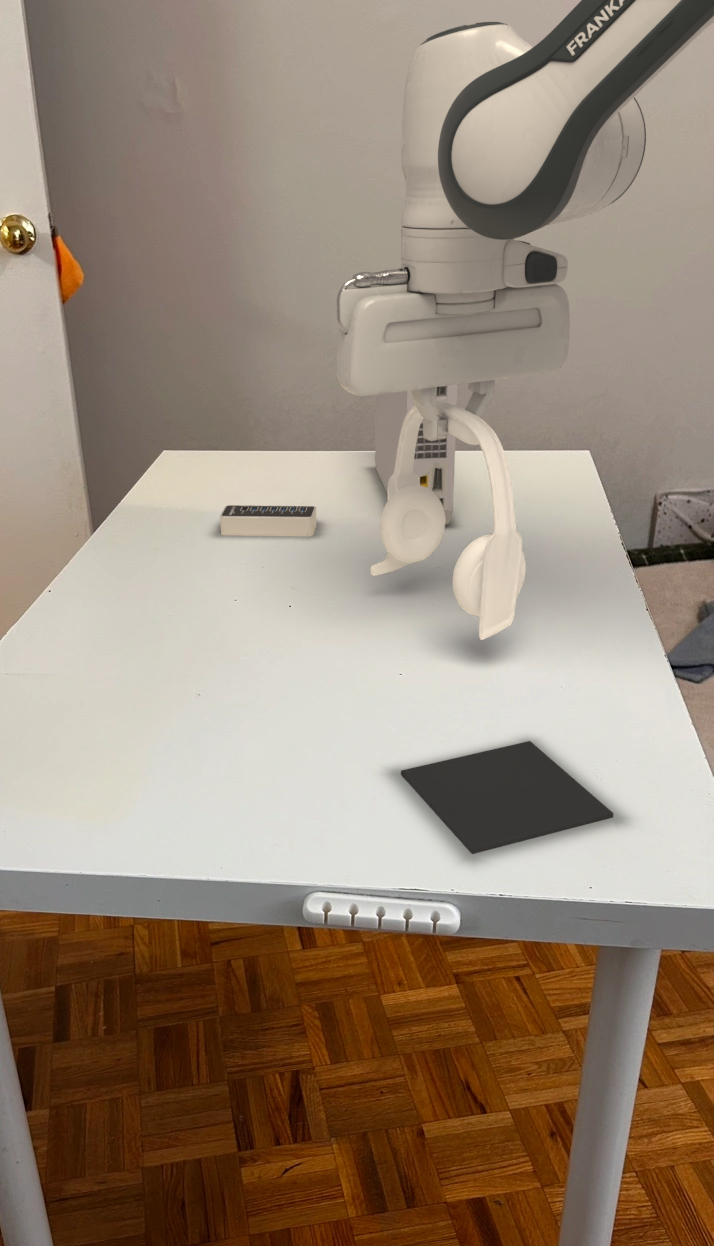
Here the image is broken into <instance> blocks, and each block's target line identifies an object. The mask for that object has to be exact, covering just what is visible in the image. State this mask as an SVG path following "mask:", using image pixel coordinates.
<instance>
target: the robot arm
mask: <svg viewBox="0 0 714 1246" xmlns="http://www.w3.org/2000/svg"><path fill="white" fill-rule="evenodd" d="M712 24H714V0H580V1H579V2H578V3H577V5H575V6H574V7H573V8H572V10H571V11H570V12H568V14H567V15H566V16H565V17H564V18H563V19H562V20H561V21H560V22H559V23H558V24H557V25H556V26H555V27H554V28H553V29H552V30H551V31H550V32H549V33H548V34H547V35H546V36H545V37H544V38H543V39H542V40H540V41H539V42H538V43H537V44H536V45H532V44H530V43H529V42H527V41H526V40H525V39H523V37H521V36H520V34H518V32H517V31H516V30H515V29H514V27H513V26H511V25H509V24H508V23H504V22H500V21H481V22H475V23H474V24H468V25H467V24H463V25H459V26H455V27H452V28H448V29H445V30H442V31H440V32H437V33H436V34H433V35H431V36H429V37H427V38H426V39H425V40H424V41H423V42H422V43H420V44H419V46H417V48H416V49H415V50H414V52H413V54H412V56H411V59H410V62H409V65H408V68H407V72H406V79H405V85H404V94H403V102H402V103H403V105H402V119H401V121H402V122H401V157H400V158H401V169H402V173H403V177H404V181H405V191H406V193H405V195H406V197H405V204H404V208H403V212H402V216H401V220H400V221H401V222H400V226H401V229H400V258H401V259H400V268H393V269H385V270H381V271H380V270H379V271H375V272H371V271H360V272H356V273H354V274H353V275H352V278H350V279H349V280H347V281H346V282H344V283H343V284H342V286H341V287H340V288H339V290H338V291H337V295H336V320H337V324H338V326H339V329H338V337H337V347H336V360H335V377H336V381H337V382H338V384H339V386H341V387H342V389H343V390H344V391H346V392H347V393H349V394H351V395H354V396H356V397H367V396H376V395H377V394H385V393H393V392H401V391H409V390H411V398H412V400H413V402H414V404H415V406H416V407H417V409H418V411H419V413H420V414H421V416H422V417H423V436H424V438H425V439H427V440H429V441H435V440H440V439H446V438H447V431H446V429H447V427H448V419H446V418H444V417H442V416H440V415H437V414H436V412H435V410H434V408H433V406H432V404H431V402H430V400H431V401H433V400H436V399H437V387H441V386H449V385H457V386H458V385H466V384H467V389H468V390H469V391H471V392H472V394H471V396H470V397H469V400H468V402H467V404H466V407H465V408H464V410H466V411H469V412H471V413H472V414H474V415H476V416H478V417H479V418H481V419H482V415H483V414H484V413H485V410H486V409H487V407H488V405H489V403H490V402H491V400H492V397H493V396H494V394H495V383H496V382H495V381H497V380H504V379H515V378H521V377H530V376H538V375H546V374H555V373H558V372H559V371H560V370H561V369H562V367H563V366H564V364H565V363H566V361H567V359H568V355H569V348H570V347H569V346H570V325H571V324H570V319H571V318H570V303H569V298H568V294H567V293H566V290H565V289H564V288H563V287H562V286H561V285H559V284H561V283H563V282H564V281H565V280H566V278H567V275H568V270H569V269H568V265H569V262H568V259H567V256H565V255H564V254H561V253H559V252H555V251H553V250H549V249H545V248H542V247H539V246H536V245H532V244H531V243H530V242H526V241H523V240H516V239H518V238H521V237H524V236H526V235H528V234H531V233H533V232H535V231H538V230H540V229H542V228H544V227H545V226H546V227H547V226H551V225H556V224H560V223H565V222H569V221H572V220H575V219H578V218H583V217H586V216H589V215H593V214H595V213H597V212H600V211H601V210H603V209H605V208H606V207H608V206H610V205H611V204H613V203H615V202H616V201H618V200H619V199H620V198H621V197H622V196H623V195H624V194H625V193H626V192H627V191H628V190H629V189H630V187H631V186H632V184H633V183H634V181H635V179H636V178H637V177H638V173H639V172H640V169H641V166H642V164H643V161H644V157H645V152H646V145H647V130H646V122H645V118H644V117H645V116H644V114H643V112H642V108H641V106H640V104H639V102H638V100H637V99H636V98H635V97H636V96H637V95H639V93H641V91H642V90H644V88H645V87H647V85H649V84H650V83H651V82H652V81H653V80H654V79H655V78H656V77H657V76H658V75H659V74H660V73H661V72H663V70H664V69H665V68H666V67H667V66H669V64H671V62H672V61H674V60H675V59H676V58H677V57H678V56H679V55H680V54H681V53H682V52H683V51H684V50H685V49H686V48H688V47H689V45H690V44H692V42H693V41H694V40H696V39H697V38H698V37H699V36H700V35H701V34H702V33H703V32H704V31H705V30H706V29H708V28H709V27H710V26H711V25H712ZM352 285H353V287H350V286H352Z"/></svg>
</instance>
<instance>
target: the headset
mask: <svg viewBox="0 0 714 1246" xmlns="http://www.w3.org/2000/svg"><path fill="white" fill-rule="evenodd" d="M430 402H431V404H432V406H433V408H434V410H435V412H436V414H437V415H440V416H442V417H444V418H446V419H448V427H447V429H446V431H447V433H449V434H451V435H453V436H455V437H456V439H458V440H459V441H462V442H463V443H465V444H467V445H470V446H477V445H479V446H480V449H481V452H482V454H483V458H484V460H485V464H486V468H487V473H488V478H489V479H488V480H489V486H490V490H491V491H490V493H491V501H492V502H491V503H492V514H493V515H492V516H493V532H492V533H487V534H484V535H481V536H479V537H477V538H475V539H474V540H472V541H471V542H470V543H469V544H468V545H467V546H466V547H465V548H464V549H463V551H462V552H461V553H460V555H459V556H458V559H457V560H456V563H455V565H454V569H453V573H452V592H453V595H454V597H455V600H456V602H457V604H458V605H459V606H460V608H462V610H463V611H465V612H466V613H467V614H469V615H470V616H471V615H472V616H474V617H477V618H478V617H479V621H478V637H479V640H481V641H484V640H486V639H488V638H490V637H492V636H494V635H496V634H498V633H500V632H503V631H504V630H505V629H507V628H508V627H509V626H511V625H512V624H513V621H514V619H515V613H516V606H517V598H518V596H519V594H520V593H521V591H522V589H523V586H524V585H525V584H524V583H525V580H526V576H527V575H526V574H527V561H526V557H525V553H524V551H523V538H522V535H521V534H520V533H519V532H518V530H517V526H516V515H515V504H514V495H513V487H512V486H513V485H512V481H511V480H512V479H511V474H510V469H509V464H508V460H507V456H506V453H505V450H504V447H503V445H502V442H501V440H500V438H499V437H498V435H497V434H496V432H495V431H494V429H493V428H492V427H491V426H490V425H489V423H487V422H486V421H485V420H484V419H482V417H481V418H479V417H478V416H476V415H474V414H472V413H471V412H469V411H466V410H465V408H462V407H460V406H458V405H457V406H455V405H452V404H449V403H445V402H441V401H437V400H433V401H431V400H430ZM422 420H423V417H422V416H421V414H420V413H419V411H418V409H417V407H416V406H413V407H412V408H411V409H410V410H409V411H408V413H407V415H406V417H405V419H404V422H403V425H402V429H401V433H400V437H399V443H398V449H397V455H396V462H395V469H394V473H393V475H392V476H391V477H390V479H389V482H388V490H387V492H386V494H387V498H386V499H387V500H386V503H385V505H384V507H383V509H382V512H381V516H380V521H379V533H380V538H381V541H382V544H383V546H384V549H386V552H387V553H386V557H385V558H384V560H381V561H379V562H377V563H375V564H372V565H371V566H370V575H371V576H372V577H377V576H380V575H384V574H388V573H392V572H395V571H397V570H400V569H401V568H403V567H406V566H408V565H411V564H413V563H419V562H422V561H423V560H425V559H427V558H429V557H430V556H431V555H432V554H434V552H435V551H436V550H437V549H438V547H439V546H440V544H441V542H442V540H443V537H444V534H445V530H446V525H445V512H444V508H443V505H442V503H441V501H440V500H439V498H438V497H437V495H436V494H435V493H434V492H433V491H431V490H430V489H428V488H426V487H424V486H420V480H419V477H418V475H417V474H416V473H415V472H414V469H413V467H414V455H415V448H416V441H417V436H418V432H419V428H420V424H421V422H422Z"/></svg>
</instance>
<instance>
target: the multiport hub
mask: <svg viewBox="0 0 714 1246" xmlns="http://www.w3.org/2000/svg"><path fill="white" fill-rule="evenodd" d="M317 525H318V523H317V507H316V506H313V505H247V504H245V505H239V504H238V505H234V504H229V505H226V506H224V508H223V510H222V511H221V513H220V515H219V526H220V535H221V536H247V537H249V536H250V537H251V536H254V537H255V536H257V537H313V536H314V535H315V531H316V528H317Z"/></svg>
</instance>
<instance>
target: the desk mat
mask: <svg viewBox="0 0 714 1246" xmlns="http://www.w3.org/2000/svg"><path fill="white" fill-rule="evenodd" d="M400 775H401V777H402V778H403V779H404V780H405V781H406V782H407V783H408V784H409V786H410V787H411V788H412V789H413V790H414V791H415V792H416V793H417V794H418V795H419V797H420V798H421V799H422V800H423V802H425V803H426V805H427V806H428V807H429V809H431V810H432V811H433V812H434V814H435V815H436V816H437V817H438V818H439V819H440V820H441V821H442V822H443V824H444V825H445V826H446V827H447V828H448V829H449V830H450V831H451V833H452V834H453V835H454V836H455V837H456V839H458V841H459V842H460V843H461V844H462V845H463V846H464V847H465V848H466V849H467V850H468V852H469V853H470V854H471V855H475V854H478V853H482V852H486V851H489V850H494V849H498V848H502V847H506V846H509V845H514V844H517V843H521V842H524V841H529V840H533V839H537V838H540V837H544V836H547V835H552V834H556V833H560V832H563V831H566V830H571V829H574V828H578V827H582V826H586V825H590V824H595V823H598V822H601V821H605V820H609V819H612V818H614V812H613V811H611V810H610V808H608V807H607V806H606V805H605V804H604V803H602V802H601V801H600V800H599V798H597V797H596V796H594V795H593V794H592V793H591V792H590V791H589V790H587V789H586V788H585V787H584V786H583V785H582V784H580V782H578V781H577V780H576V779H575V778H573V776H572V775H570V774H569V773H568V772H567V771H565V770H564V769H563V768H562V767H561V766H560V765H558V764H557V762H555V761H554V760H553V759H552V758H550V756H548V755H547V754H546V753H545V752H543V751H542V750H541V749H540V748H539V747H538V746H537V745H535V744H534V743H533V742H532V741H531V740H527V741H524V742H519V743H514V744H509V745H506V746H502V747H498V748H497V747H496V748H494V749H489V750H488V749H487V750H485V751H479V752H475V753H472V754H471V753H470V754H467V755H461V756H457V757H453V758H450V759H449V758H448V759H445V760H440V761H437V762H432V763H427V764H423V765H419V766H413V767H410V768H404V769H402V770H400Z"/></svg>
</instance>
